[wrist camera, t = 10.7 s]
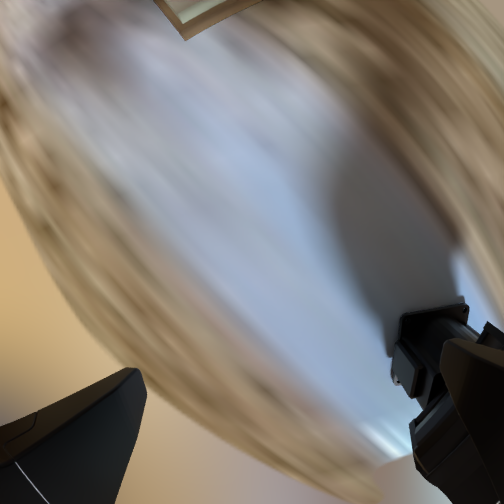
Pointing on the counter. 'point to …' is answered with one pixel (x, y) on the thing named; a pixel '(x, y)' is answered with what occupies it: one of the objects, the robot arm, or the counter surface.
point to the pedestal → (199, 13)
